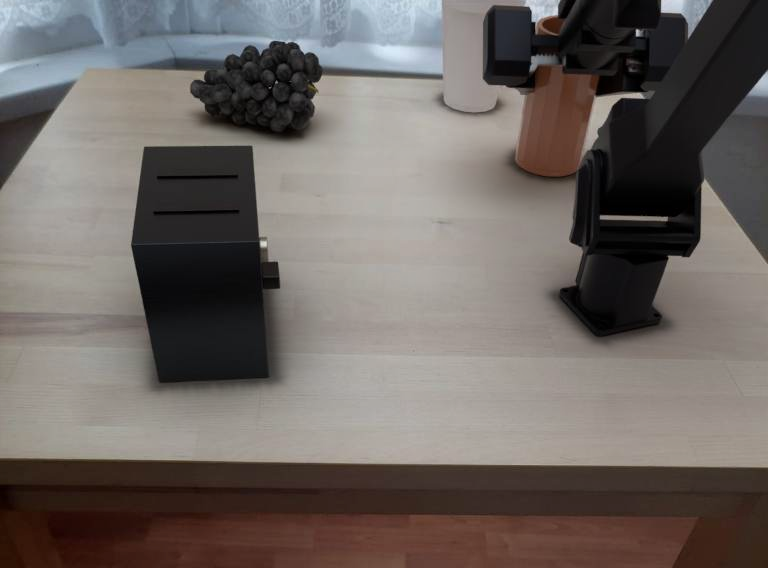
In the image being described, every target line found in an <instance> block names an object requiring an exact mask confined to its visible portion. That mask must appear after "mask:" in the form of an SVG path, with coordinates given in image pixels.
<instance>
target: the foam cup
mask: <svg viewBox="0 0 768 568" xmlns="http://www.w3.org/2000/svg"><path fill="white" fill-rule="evenodd" d="M526 3H527V0H441V40H442V41H441V42H442V43H441V44H442V45H441V46H442V93H443V102H444V104H445V105H446V106H448V107H449V108H450V109H453V110H457V111H460V112H465V113H473V114H475V113H484V112H485V113H486V112H487V111H490V110H493V109H494V108H495V107H496V105H497V101H498V98H499V94H500V91H501V88H502V86H501V85H488V84H487V83H486V82H485V81H484V80H483V21H484V18H485V16H486V13H487V12H488V10H489V9H490V8H491V7H492V6H493V5H503V6H525V5H526Z"/></svg>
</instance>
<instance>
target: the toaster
mask: <svg viewBox="0 0 768 568" xmlns="http://www.w3.org/2000/svg"><path fill="white" fill-rule="evenodd" d="M141 157H142V158H141V159H142V160H141V165H140V173H139V181H138V190H137V195H136V205H135V210H134V211H135V212H134V218H133V226H132V234H131V241H130V248H131V252H132V257H133V262H134V267H135V272H136V277H137V282H138V287H139V291H140V297H141V302H142V307H143V311H144V316H145V322H146V326H147V331H148V335H149V340H150V341H149V342H150V346H151V350H152V355H153V360H154V366H155V370H156V374H157V379H158V382H159V383H171V382H172V383H173V382H192V381H195V382H196V381H214V380H215V381H217V380H236V379H257V378H269V377H270V370H269V369H270V368H269V367H270V366H269V355H268V341H267V340H268V339H267V329H266V328H267V325H266V311H265V299H264V290H279V289H280V290H281V277H280V276H281V275H280V267H279V262H278V261H277V260H275V261H269V249H268V247H269V246H268V237H267V236H260V227H259V215H258V202H257V188H256V174H255V159H254V147H253V145H170V146H169V145H165V146H164V145H161V146H159V145H157V146H155V145H154V146H149V145H147V146H143V149H142V156H141Z"/></svg>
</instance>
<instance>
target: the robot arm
mask: <svg viewBox="0 0 768 568" xmlns="http://www.w3.org/2000/svg"><path fill="white" fill-rule="evenodd" d="M557 15H558V19H563V25H562V27H561V28H560V31H559V34H558V35H537V34H536V25H537V22H536V21H533V10H532V9H531V6H525V5H524V6H503V5H493V6H492V7H491V8H490V9H489V10H488V12H487V13H486V16H485V18H484V21H483V80H484V81H485V82H486V83H487V84H488V85H501V87H502V86H503V87H506V88H508V89H515V90H516V91H517V92H519V94H520V96H525V95H526V94H528V93H529V92H530V91H532V90H533V89H534V88H535V70H536V68H537V67H538V66H554V67H563V69H562V74H584V75H601V78H600V83H599V87H598V91H597V96H596V98H603V97H604V98H605V97H611V96H621V95H630V94H631V95H632V94H646V93H648V92H653V94H652V95H651V97H650V98H640V97H620V98H619V99H618V100H617V101H616V102H615V103H613V105H612V106H611V107H610V110H609V113H608V114H607V116H606V119H605V121H604V122H603V123H602V125H601V126H600V127H598V128H597V131H596V134H597V136H598V137H596V139H595V140H594V142H593V144H592V145H591V147H590V149H588V150H587V151H586V152H585V153H584V154H583V157H582V161H581V163H580V166H579V169H578V170H577V171H576V172H575V174H576V175H575V191H574V202H573V209H572V225H571V228H570V232H569V238H568V240H569V242H570V243H571V244H572V245H575V246H577V247H578V248H581V250H582V253H581V258H580V262H579V266H578V269H577V273H576V277H575V279H574V280H575V285H571V286H566V287H565V286H564V287H561V288H560V289H559V292H558V296H559V297H560V298H561V299H562V300H563V302H565V304H567V306H568V307H569V308H570V309H571V310H572V311H573V312H574V313H575V314H576V315H577V316H578V317H579V318H580V319H581V320H582V321H583V323H584V324H585V325H586V326H587V327H588V328H589V329H590V330H591V331H592V332H593V333H594V334H595V335H597V336H603V335H609V334H614V333H618V332H622V331H627V330H632V329H637V328H641V327H646V326H649V325H655V324H660V323H661V321H662V320H663V315H662V314H661V312H660V311H658V310H657V308H655V307H654V306H653V304H654V301H655V298H656V295H657V293H658V290H659V287H660V285H661V282H662V278H663V276H664V274H665V270H666V268H667V265H668V262H669V259H670V257H681V258H691V256H692V255H693V252H694V251H695V250H696V248H697V246H698V245H699V243H700V241H701V237H702V234H701V233H702V190H703V189H702V188H703V187H702V185H703V183H704V181H705V169H704V155H703V150H704V149H705V148H706V146H707V145H708V144H709V143H710V142H711V140H712V139H713V138H714V137H715V135H716V134H717V133H718V132H719V130H720V129H721V128H722V127H723V126H724V124H726V122H727V121H728V120H729V118H730V117H731V116H732V115H733V113H735V111H736V110H737V109H738V107H739V106H740V105H741V103H743V101H744V100H745V99H746V98H747V96H748V95H749V94H750V93H751V92H752V90H753V89H754V88H755V86H756V85H757V84H758V83H759V81H760V80H761V79H762V78H763V76H765V74H766V73H767V72H768V0H711V2H710V4H709V5H708V7H707V9H706V10H705V12H704V13H703V15H702V17H701V18H700V20H699V21H698V23H697V24H696V26H695V27H694V29H693V31H691V34H690V35H689V23H688V20H687V19H686V17H685V16H684V15H683V13H682V12H681V13H680V12H662V0H559V2H558V4H557ZM539 55H540V56H539ZM543 55H544V56H543ZM552 56H553V57H552ZM556 56H557V57H556ZM601 216H607V217H609V216H610V217H611V216H613V217H614V216H615V217H647V218H648V217H650V218H653V217H654V218H655V217H656V218H667V220H648V219H647V220H645V219H644V220H643V219H642V220H641V219H640V220H639V219H606V218H605V219H604V218H603V219H602V218H601Z"/></svg>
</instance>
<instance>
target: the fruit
mask: <svg viewBox="0 0 768 568" xmlns="http://www.w3.org/2000/svg"><path fill="white" fill-rule="evenodd" d="M319 59H320V58H319V57H318V56H317V55H316V54H315V53H314V52H312V51H311V52H310V51H308V52H306V53H305V52H303V51H302V49H301V46H300V45H299V44H298V43H297V42H294V41H289V42H285V41H282V40H281V41H280V40H272V41H270V42H269V44H268V47H267V48H264V49H262V51H261V52H260V51H259V49H258V48H257V47H256V46H254V45H251V44H249V45H246V46H245V47H244V48H243V50H242V52H241V53H240V55H239V56H238V54H237V55H236V54H234V53H231V54H228V55H226V57H225V59H224V64H223V65H224V68H221V69H218V70H217V69H215V68H211V69H208V70H205V73H204V75H203V79H194V80H193V81H192V82H190V85H189V93H190V94H191V96H192V97H193V98H194V99H198V100H199V101H200V102H201V103H203V105H204V111H205V112H206V114H208V115H209V116H211V117H218V116H220V114H221V115H222V116H223V117H225V118H227V119H232V121H233V122H234V124H237V125H239V126H242V125H244V124H245V123H246V122H248V123H249V124H252V125H256V124H257V123H258V124H259V125H260V126H262V127H265V128H270V129H271V131H272V132H275V133H282V132H283V131H284V130H285V129H286V128H289V129H290V130H294V129H295V130H304V129H305V128H306V127H307V126H308V123H309V121H310V119H311V118H313V117H314V115H315V110H316V106H315V104H314V102H313V99H314V98H315V96H316V94H317V93H320V91H319V88H316V86H315V84H317V83H319V82H320V80H321V79H322V76H323V71H324V69H323V67H322V65H321V64H320V61H319Z"/></svg>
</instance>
